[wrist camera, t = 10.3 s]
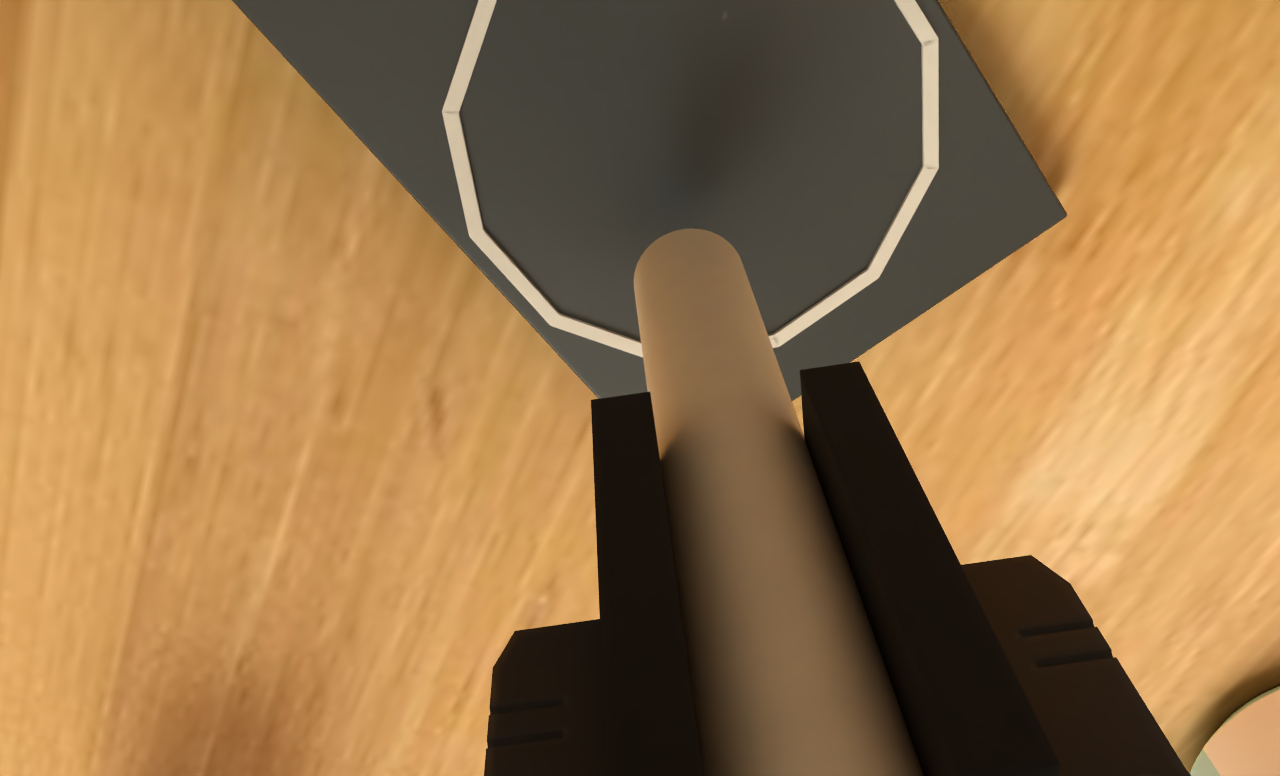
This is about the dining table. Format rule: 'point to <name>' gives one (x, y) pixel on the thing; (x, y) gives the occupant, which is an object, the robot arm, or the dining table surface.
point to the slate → (685, 154)
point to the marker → (755, 538)
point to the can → (1245, 741)
